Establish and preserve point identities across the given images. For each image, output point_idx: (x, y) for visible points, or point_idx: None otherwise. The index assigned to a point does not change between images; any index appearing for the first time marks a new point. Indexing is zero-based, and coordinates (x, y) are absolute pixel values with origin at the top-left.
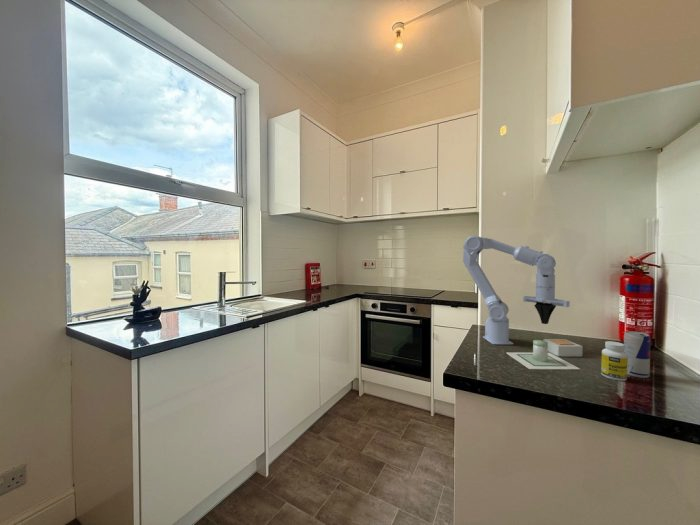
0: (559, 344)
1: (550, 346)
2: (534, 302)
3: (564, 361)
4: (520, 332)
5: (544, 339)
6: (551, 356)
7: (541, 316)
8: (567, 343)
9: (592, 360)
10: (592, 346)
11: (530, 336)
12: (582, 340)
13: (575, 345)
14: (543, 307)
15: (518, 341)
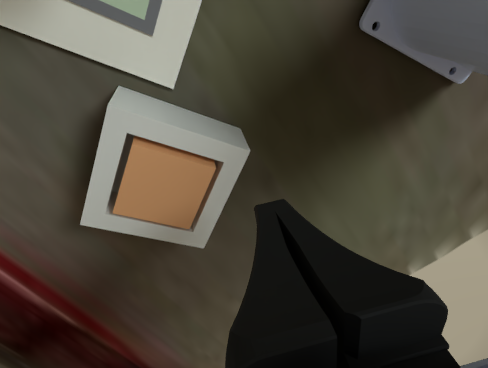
0: (136, 143)
1: (184, 120)
2: (481, 361)
3: (19, 20)
4: (422, 229)
5: (243, 152)
6: (114, 32)
7: (300, 232)
8: (130, 191)
9: (36, 187)
10: (184, 313)
11: (371, 222)
12: None
13: (101, 207)
14: (302, 314)
15: (369, 111)
